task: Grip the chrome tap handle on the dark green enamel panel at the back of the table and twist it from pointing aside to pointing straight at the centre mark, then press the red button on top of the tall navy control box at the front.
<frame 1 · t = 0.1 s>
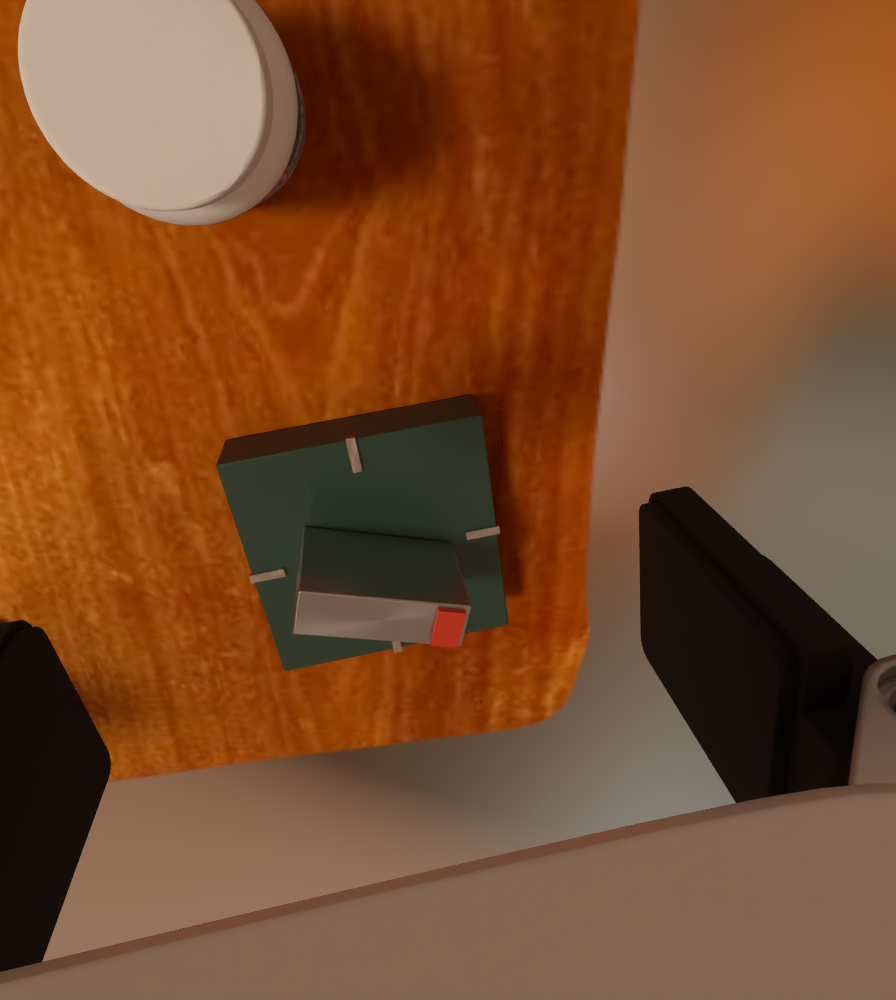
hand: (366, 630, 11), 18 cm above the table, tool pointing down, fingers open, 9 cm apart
pill bottle: (219, 113, 22), on the table
tap handle: (379, 586, 26), point 5 cm above the table, hinge at 70.0°
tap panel: (373, 523, 30), on the table
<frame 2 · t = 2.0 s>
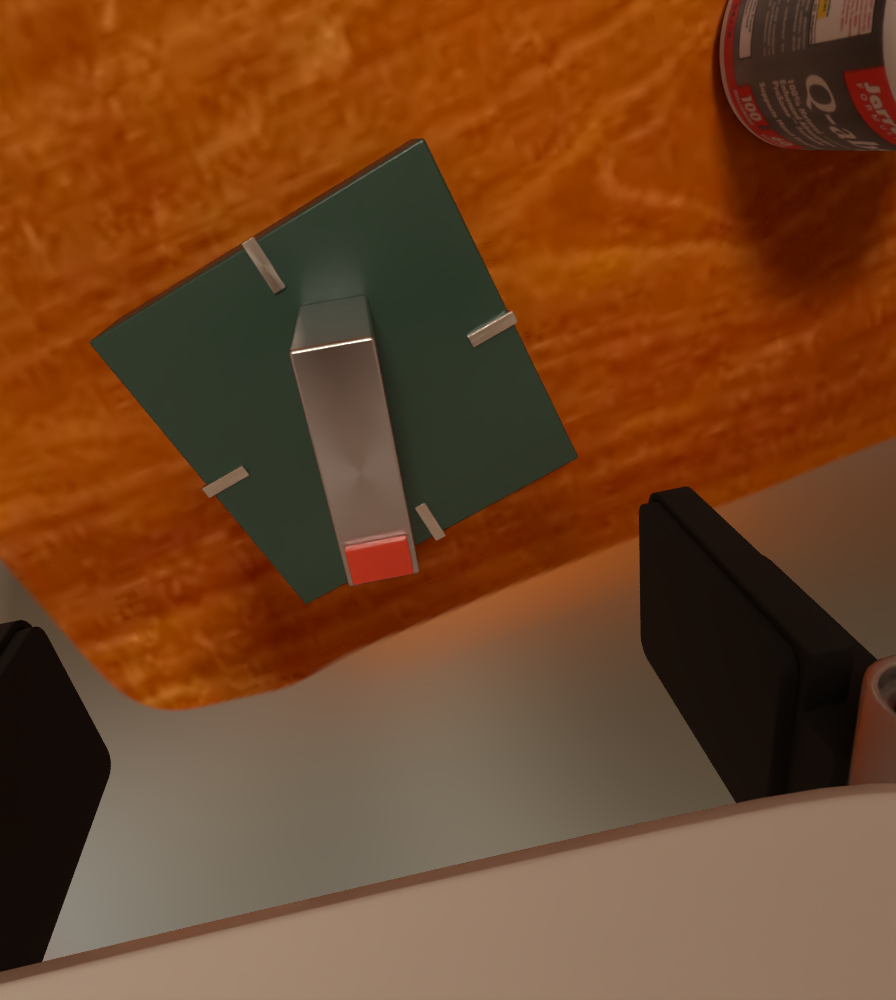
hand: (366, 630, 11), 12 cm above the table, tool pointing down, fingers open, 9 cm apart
pill bottle: (805, 35, 19), on the table
tap handle: (358, 437, 17), point 5 cm above the table, hinge at 70.0°
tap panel: (354, 379, 22), on the table
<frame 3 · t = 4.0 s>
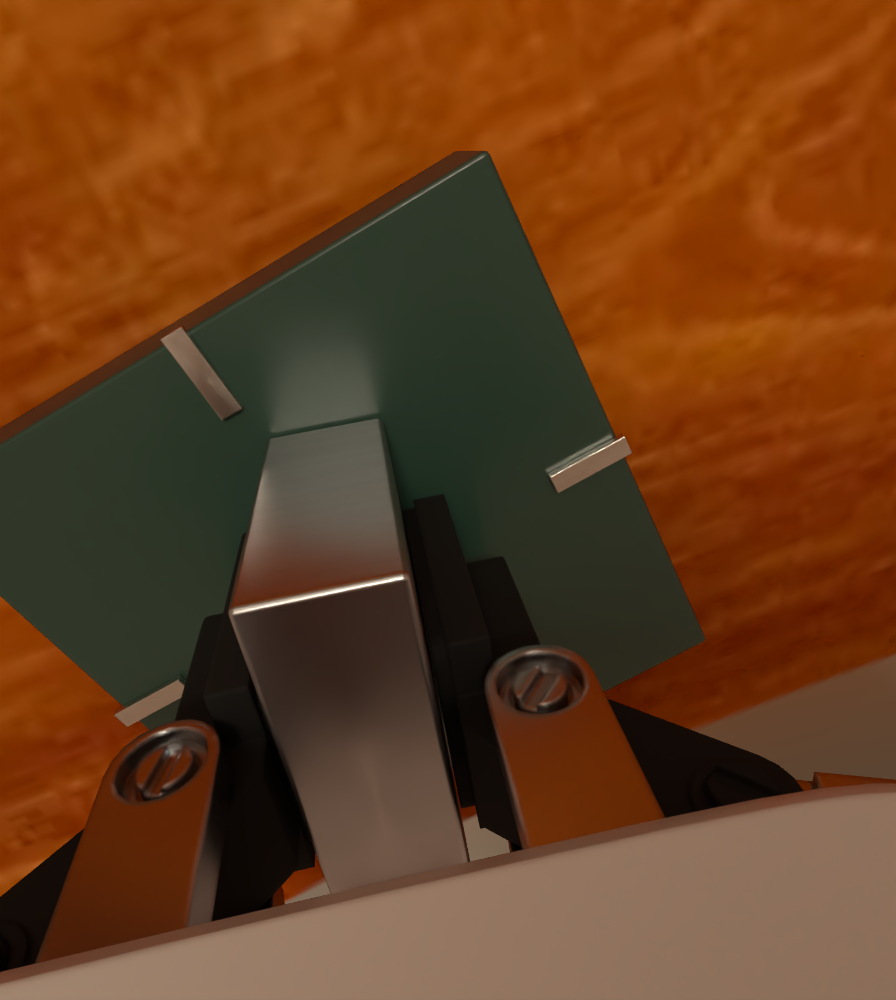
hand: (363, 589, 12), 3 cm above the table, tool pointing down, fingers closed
tap handle: (369, 677, 10), point 5 cm above the table, hinge at 70.0°
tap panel: (358, 516, 14), on the table
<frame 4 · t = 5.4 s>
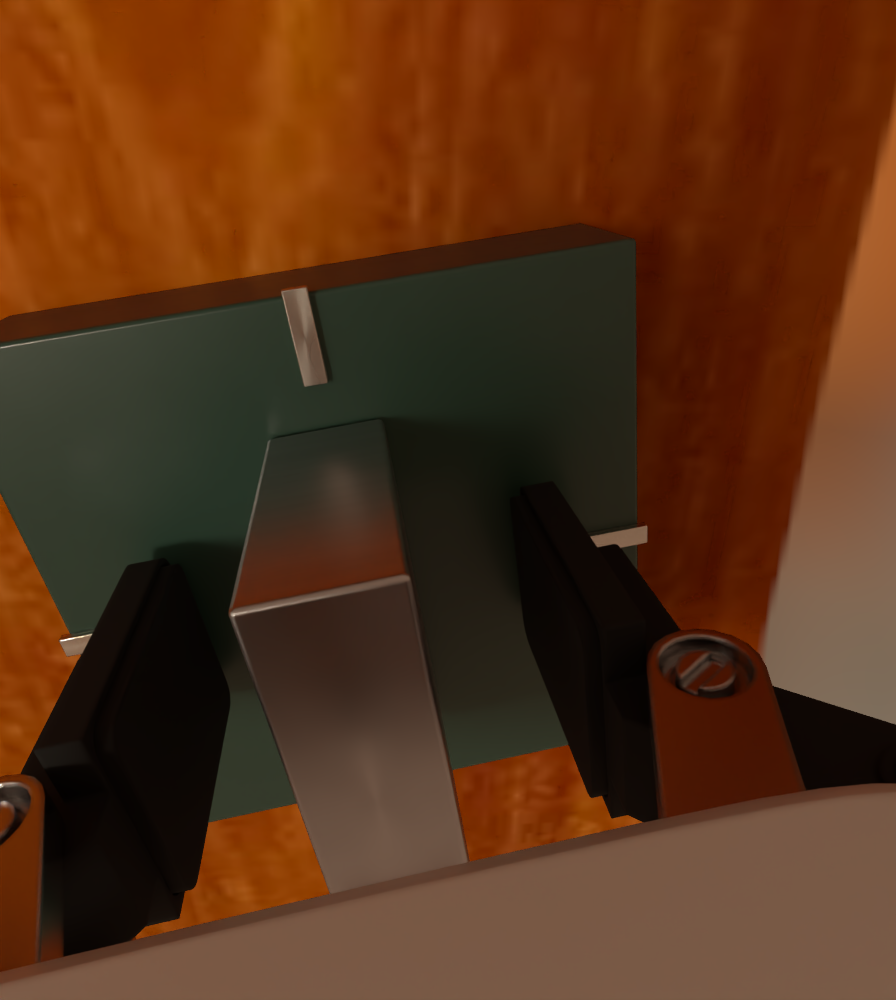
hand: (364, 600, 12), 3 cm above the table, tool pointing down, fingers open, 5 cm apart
tap handle: (369, 678, 10), point 5 cm above the table, hinge at 0.5°
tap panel: (358, 517, 14), on the table
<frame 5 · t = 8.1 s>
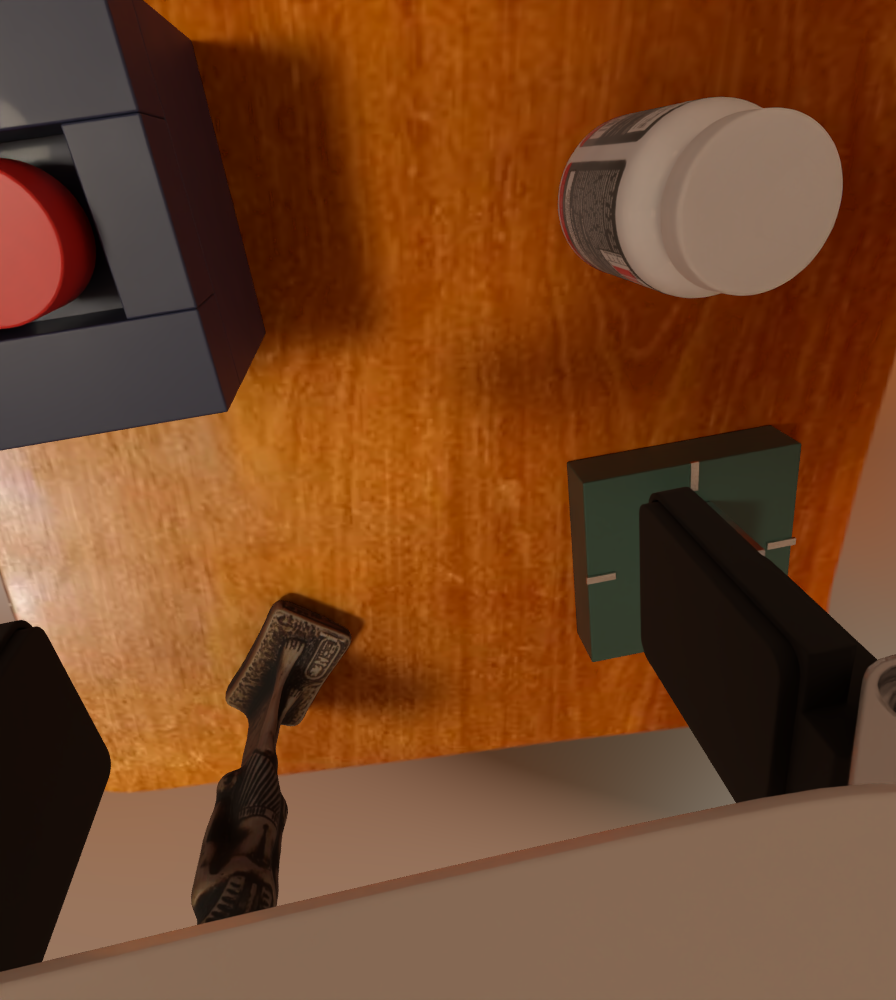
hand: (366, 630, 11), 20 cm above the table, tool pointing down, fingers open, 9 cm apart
button box: (122, 216, 25), on the table
pill bottle: (622, 196, 27), on the table
statue: (287, 655, 35), on the table
tap handle: (715, 587, 30), point 5 cm above the table, hinge at 0.5°
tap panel: (668, 534, 34), on the table
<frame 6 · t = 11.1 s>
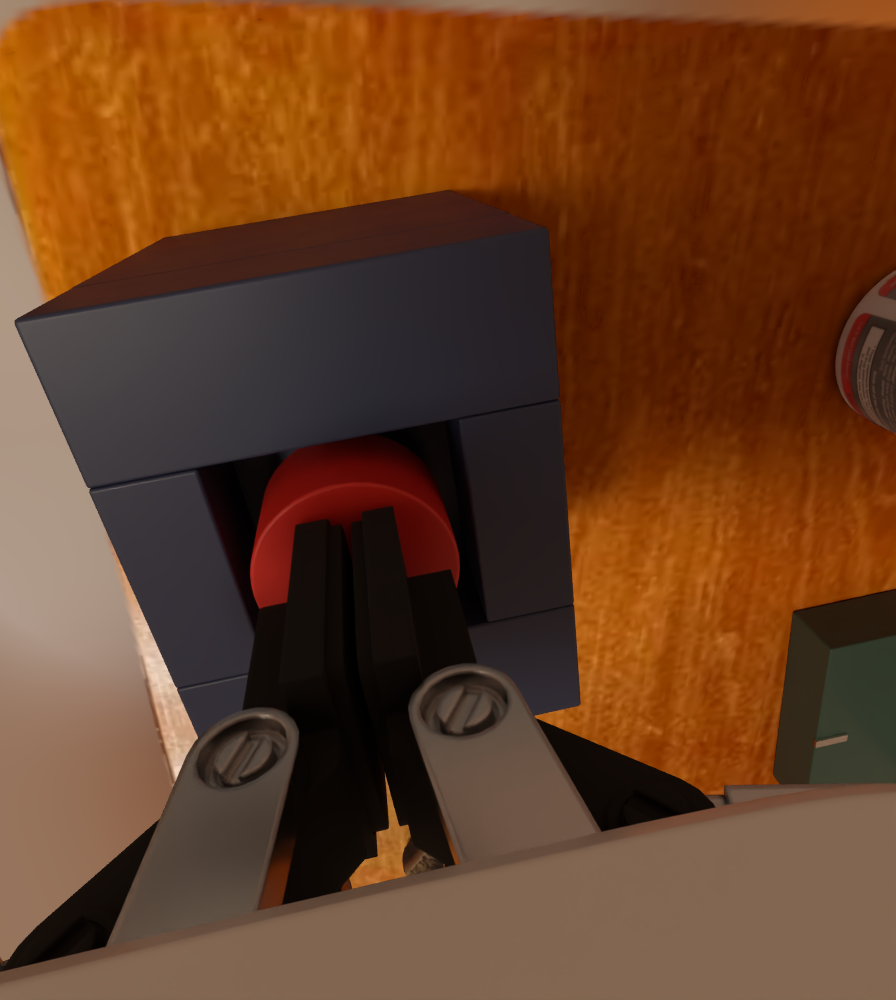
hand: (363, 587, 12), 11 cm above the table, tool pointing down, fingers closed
button box: (346, 385, 21), on the table
statue: (464, 813, 31), on the table
red button: (355, 543, 13), point 10 cm above the table, slide at -0.4 cm, touching gripper
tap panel: (885, 675, 31), on the table
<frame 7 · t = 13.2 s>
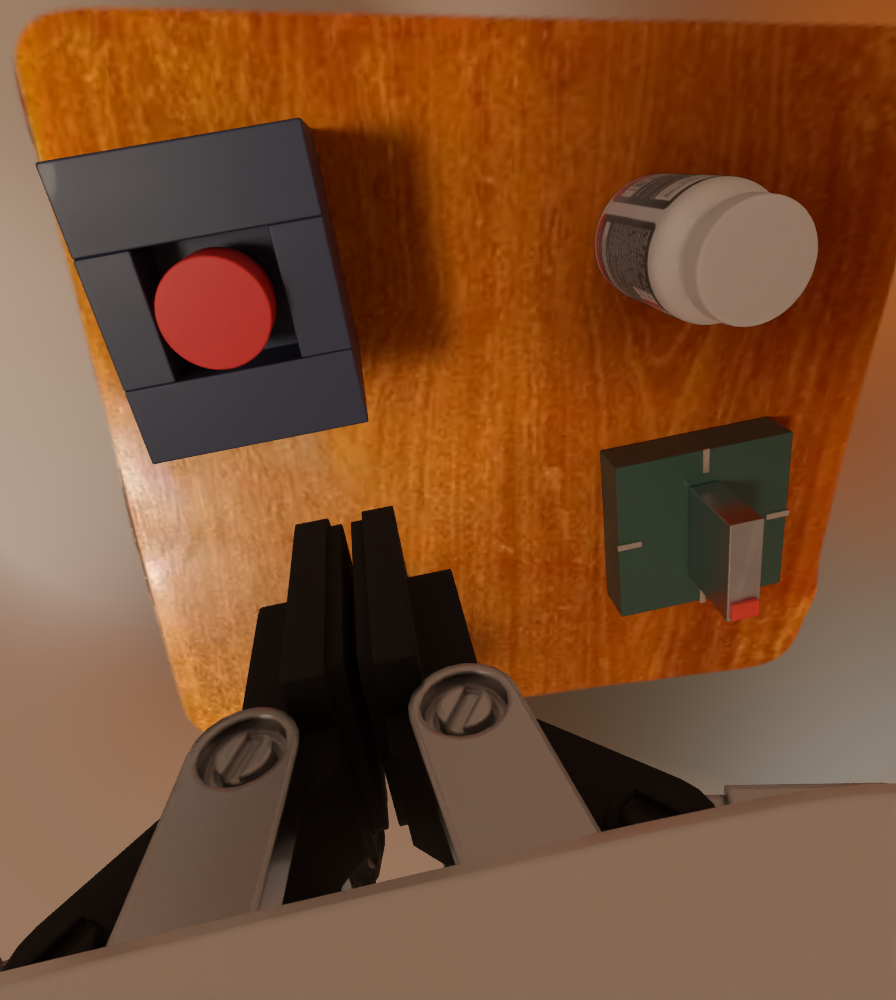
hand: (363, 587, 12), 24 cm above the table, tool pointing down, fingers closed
button box: (252, 264, 32), on the table
pill bottle: (645, 236, 34), on the table
statue: (367, 617, 42), on the table
red button: (219, 307, 23), point 10 cm above the table, slide at 0.1 cm
tap handle: (724, 551, 37), point 5 cm above the table, hinge at 0.5°
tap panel: (683, 509, 41), on the table
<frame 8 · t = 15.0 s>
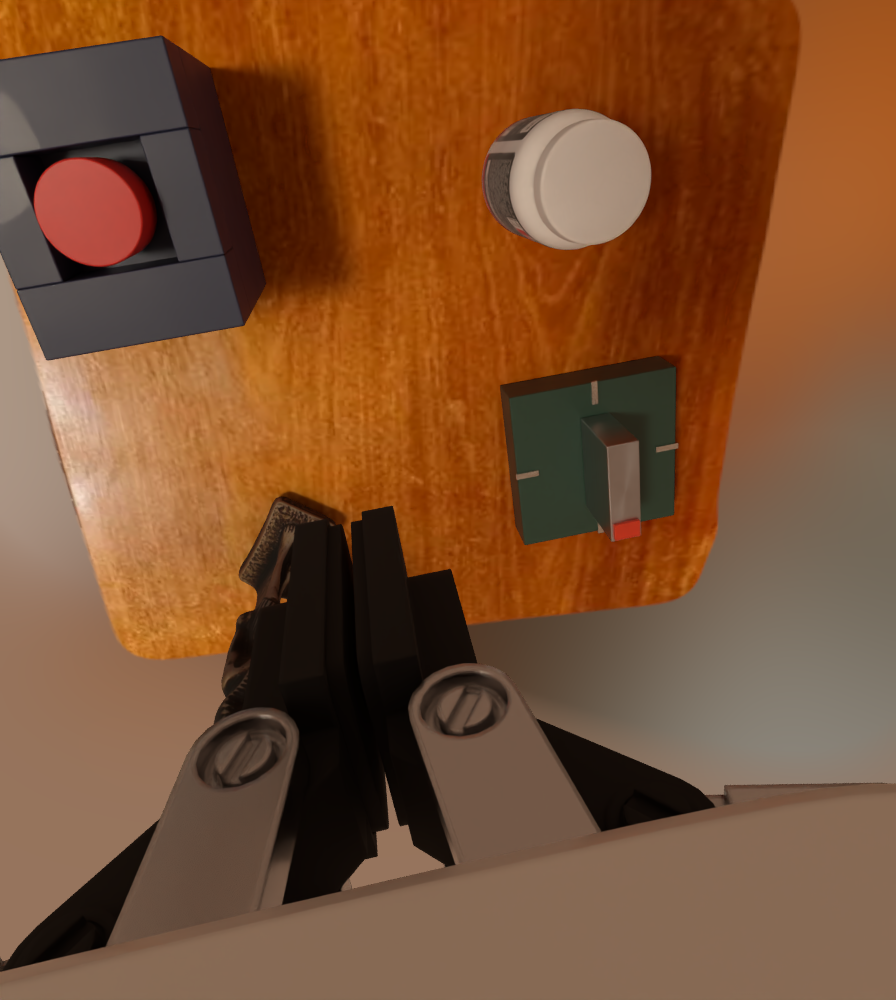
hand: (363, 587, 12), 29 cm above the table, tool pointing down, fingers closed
button box: (160, 196, 34), on the table
pill bottle: (531, 177, 37), on the table
statue: (286, 544, 44), on the table
red button: (98, 211, 25), point 10 cm above the table, slide at 0.1 cm
tap handle: (611, 477, 40), point 5 cm above the table, hinge at 0.5°
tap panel: (583, 445, 44), on the table
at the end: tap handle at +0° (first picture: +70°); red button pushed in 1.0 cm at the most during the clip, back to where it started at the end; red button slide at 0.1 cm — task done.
